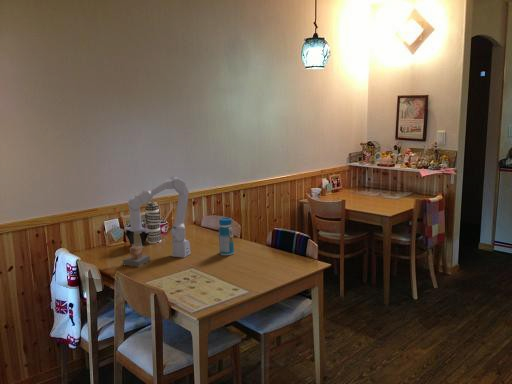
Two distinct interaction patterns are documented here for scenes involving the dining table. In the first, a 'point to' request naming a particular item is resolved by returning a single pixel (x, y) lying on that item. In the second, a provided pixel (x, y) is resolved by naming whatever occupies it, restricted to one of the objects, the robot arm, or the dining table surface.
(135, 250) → the terracotta block
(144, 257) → the charcoal plinth
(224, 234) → the beverage bottle
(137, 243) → the coffee cup
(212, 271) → the dining table surface
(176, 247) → the robot arm
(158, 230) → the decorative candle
